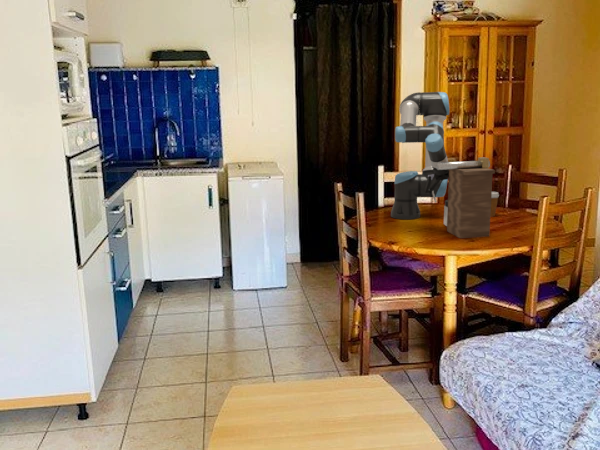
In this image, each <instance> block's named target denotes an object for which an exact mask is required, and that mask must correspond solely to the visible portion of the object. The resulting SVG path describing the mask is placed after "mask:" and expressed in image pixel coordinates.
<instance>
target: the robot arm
mask: <svg viewBox="0 0 600 450" xmlns="http://www.w3.org/2000/svg"><path fill="white" fill-rule="evenodd" d="M449 102H450V101H449V96H448V94H447V93H446V92H444V91H428V92H427V91H425V92H422V91H421V92H414V93H411V94H409V95H408V96H405V98H404V99H403V100H402V101H401V102H400V105H399V114H400V121H399V123H400V124H399V125H400V126H396V127H395V129H394V139H395V140H394V141H395V142H396V143H402V144H405V143H406V144H407V143H410V144H411V143H413V144H415V143H425V163H424V164H425V165H424V166H425V167H424V168H423V169H422V170H421V174H420V173H418V171H417V170H414V171H413V170H410V171H403V172H399V173H396V175H395V177H394V183H393V184H394V203H393V205H392V208H391V210H390V217H391V218H393V219H398V220H415V219H419V218H420V217H421V211H420V207H419V203H418V198H432V199H433V200H434V203H437V199H436V198H441V197H442V198H443V197H445V195H446V193H447V186H448V182H449V170H448V169H447V170H437V167H436V165H437V163H441V162H449V159H448V156H447V151H446V147H445V131H444V121H446V119H447V116H449V115H450V103H449ZM417 116H423V120H424V121H425V122H426V123H425V125H417Z"/></svg>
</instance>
